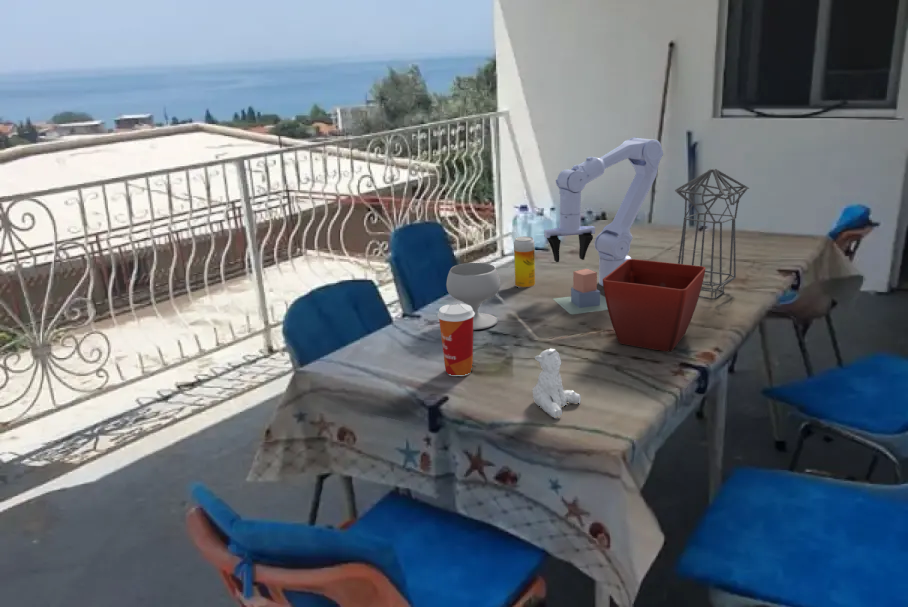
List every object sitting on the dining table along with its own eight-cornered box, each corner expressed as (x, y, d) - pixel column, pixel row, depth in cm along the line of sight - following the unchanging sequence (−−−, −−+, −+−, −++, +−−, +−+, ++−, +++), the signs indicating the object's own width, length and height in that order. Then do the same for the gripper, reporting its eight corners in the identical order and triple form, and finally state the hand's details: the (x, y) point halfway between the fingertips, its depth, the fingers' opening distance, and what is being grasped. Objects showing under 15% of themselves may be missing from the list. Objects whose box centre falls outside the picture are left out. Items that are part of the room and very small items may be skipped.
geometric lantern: (666, 295, 201) (672, 171, 191) (691, 282, 212) (698, 164, 202) (721, 305, 191) (730, 174, 181) (744, 291, 202) (754, 166, 191)
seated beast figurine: (556, 421, 136) (556, 363, 132) (520, 408, 141) (518, 353, 137) (583, 402, 142) (583, 347, 139) (547, 391, 148) (546, 338, 144)
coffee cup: (439, 365, 163) (435, 304, 158) (475, 362, 164) (472, 301, 159) (442, 381, 155) (438, 316, 151) (479, 377, 156) (476, 313, 151)
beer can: (534, 289, 212) (533, 241, 208) (513, 289, 214) (512, 241, 209) (536, 283, 218) (535, 236, 213) (516, 283, 219) (515, 236, 214)
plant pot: (681, 360, 159) (685, 289, 153) (599, 347, 169) (601, 279, 163) (702, 332, 174) (706, 266, 169) (626, 321, 184) (628, 258, 178)
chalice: (440, 319, 192) (437, 266, 187) (487, 310, 197) (485, 258, 192) (461, 336, 180) (458, 279, 175) (510, 326, 185) (509, 270, 180)
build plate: (598, 295, 204) (598, 292, 204) (619, 310, 191) (619, 308, 191) (552, 301, 202) (552, 298, 201) (570, 317, 189) (570, 314, 188)
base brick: (591, 298, 200) (591, 285, 198) (599, 305, 194) (600, 291, 193) (571, 301, 198) (571, 287, 197) (579, 307, 193) (579, 294, 192)
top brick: (586, 285, 198) (586, 268, 196) (596, 289, 194) (596, 272, 192) (573, 288, 196) (573, 271, 194) (583, 292, 192) (583, 275, 191)
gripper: (588, 208, 204) (587, 254, 208) (540, 212, 201) (540, 258, 205) (598, 213, 197) (597, 260, 202) (549, 217, 195) (548, 265, 199)
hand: (569, 260), depth 203 cm, fingers open, 7 cm apart
